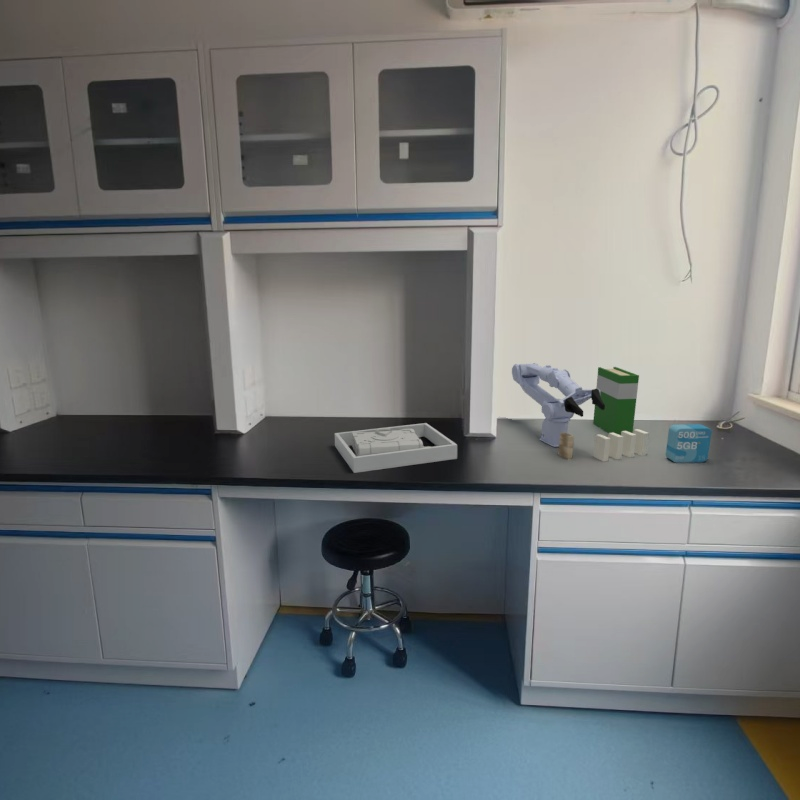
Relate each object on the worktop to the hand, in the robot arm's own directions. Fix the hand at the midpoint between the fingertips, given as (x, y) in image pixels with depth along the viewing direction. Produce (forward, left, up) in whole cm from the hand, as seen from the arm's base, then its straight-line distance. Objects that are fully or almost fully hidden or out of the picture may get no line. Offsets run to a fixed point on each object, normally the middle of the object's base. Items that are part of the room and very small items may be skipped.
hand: (593, 410), depth 167 cm
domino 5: (-1, +22, -18) cm, 29 cm away
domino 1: (-7, -4, -18) cm, 20 cm away
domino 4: (-1, +17, -18) cm, 25 cm away
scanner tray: (-32, -58, -18) cm, 69 cm away
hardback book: (-26, +33, -18) cm, 46 cm away
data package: (+10, +32, -18) cm, 38 cm away
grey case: (-32, -58, -18) cm, 69 cm away
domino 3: (-1, +11, -18) cm, 21 cm away
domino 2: (-1, +6, -18) cm, 19 cm away
